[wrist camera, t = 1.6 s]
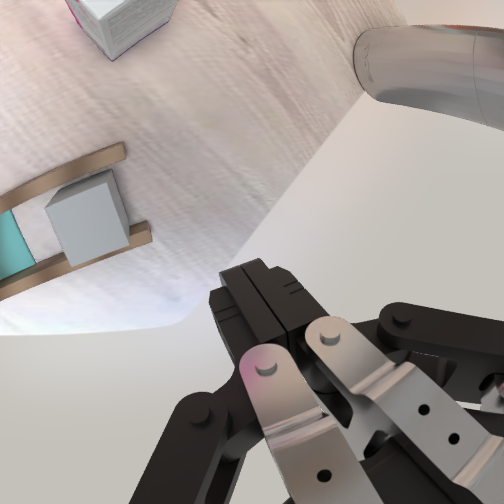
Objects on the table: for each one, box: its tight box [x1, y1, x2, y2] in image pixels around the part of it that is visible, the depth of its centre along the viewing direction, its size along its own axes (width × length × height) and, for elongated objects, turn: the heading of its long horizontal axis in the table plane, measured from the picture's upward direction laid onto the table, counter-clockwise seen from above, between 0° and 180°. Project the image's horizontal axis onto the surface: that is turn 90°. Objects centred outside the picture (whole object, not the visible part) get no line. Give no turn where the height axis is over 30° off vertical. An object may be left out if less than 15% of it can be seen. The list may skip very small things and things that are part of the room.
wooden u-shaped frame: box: [0, 142, 153, 301], centre depth 20 cm, size 20×9×2 cm, turn 99°
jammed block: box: [45, 169, 130, 267], centre depth 20 cm, size 5×5×4 cm
